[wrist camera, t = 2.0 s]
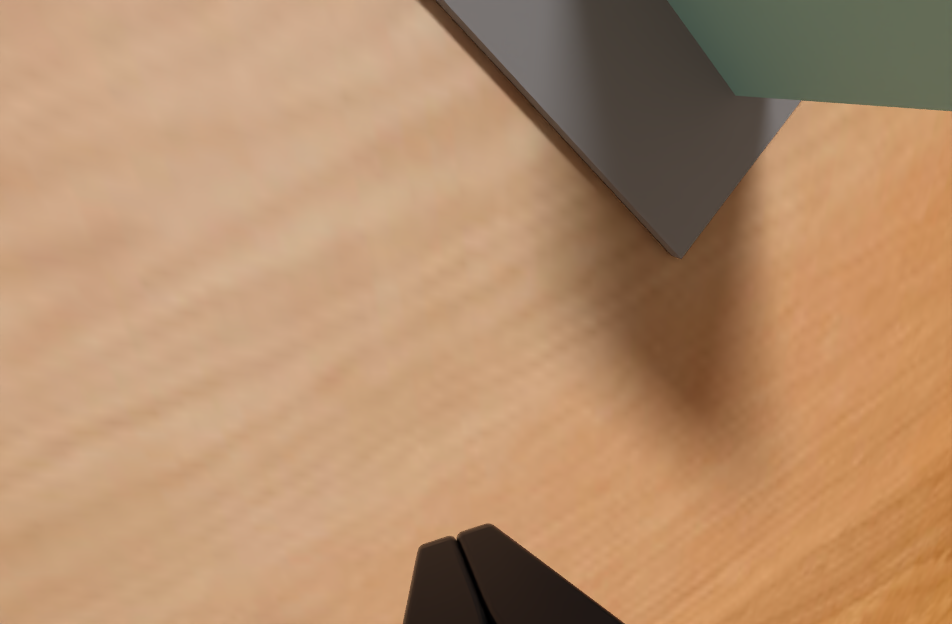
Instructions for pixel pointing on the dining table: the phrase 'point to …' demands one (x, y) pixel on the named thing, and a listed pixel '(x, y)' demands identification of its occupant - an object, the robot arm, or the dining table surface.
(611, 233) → the dining table surface
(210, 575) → the dining table surface
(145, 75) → the dining table surface
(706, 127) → the mat
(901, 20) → the teal board
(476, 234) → the dining table surface
